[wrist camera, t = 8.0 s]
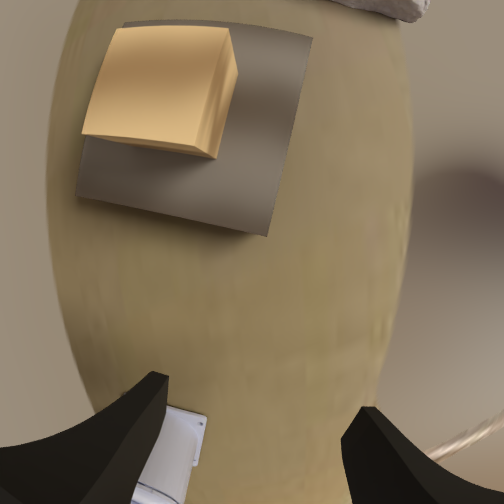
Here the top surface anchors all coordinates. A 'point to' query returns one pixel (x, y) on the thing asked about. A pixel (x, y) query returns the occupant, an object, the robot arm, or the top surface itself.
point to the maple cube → (165, 89)
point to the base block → (231, 146)
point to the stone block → (391, 7)
